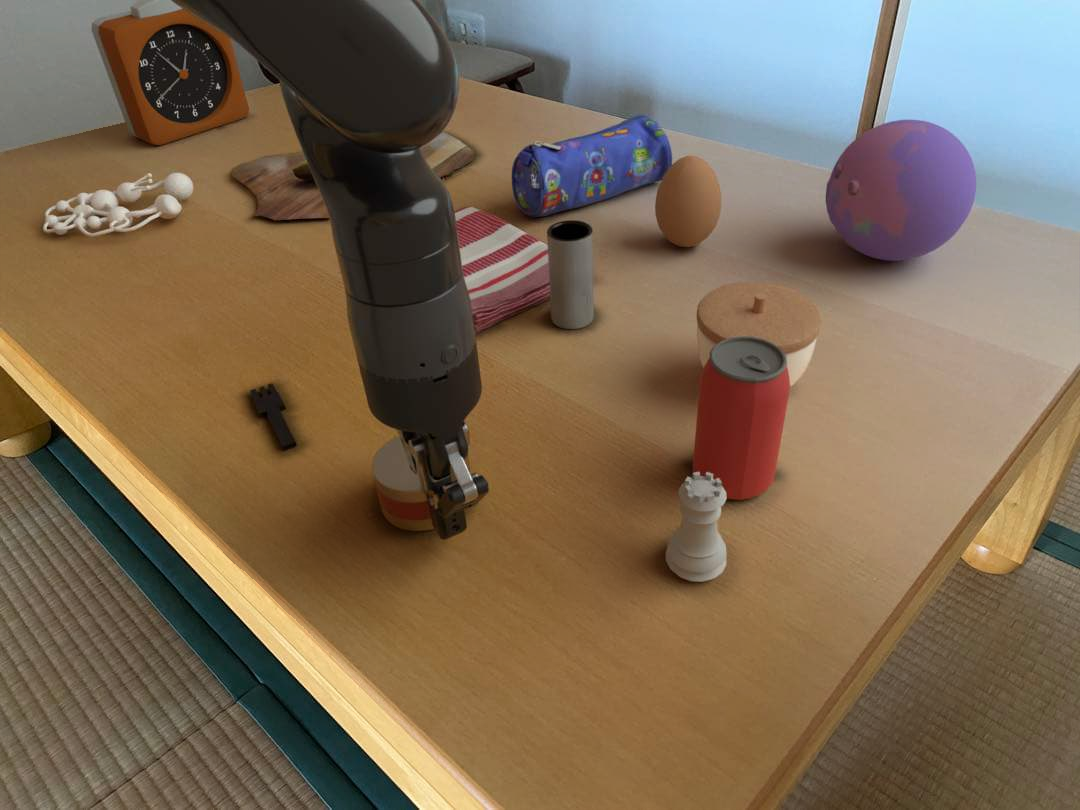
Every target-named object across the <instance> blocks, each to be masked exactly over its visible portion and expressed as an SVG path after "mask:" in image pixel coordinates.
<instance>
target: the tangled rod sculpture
mask: <svg viewBox="0 0 1080 810" xmlns="http://www.w3.org/2000/svg"><path fill="white" fill-rule="evenodd" d="M152 177H153V174H152V173H150V172H148V173H146V174H145V175H144V176H143V177H141V178H138V180H136V181H134V182H127V181H126V182H122V183H121V184H119V185H118V186H117V188H116V190H114V191H110V190H108V189H99V190H96V191H94V192H91V193H87V192H80V193H78V194H77V196H75V197H71V198H70V199H68V200H64V199H61V200H58V201H57V203H56V204H55V205H53V206H50V207H49V208H48V209H46V210H45V212H44V217H45V219H44V224H43V226H42V231H43V232H44V233H47V234H49V233H55V234H56V235H59V236H65V235H66V234H67V233H68V232H69V230H71V229H74V228H75V229H76V230H78V231H80V232H81V233H82V234H83V235H85V236H87V237H91V238H93V237H94V238H95V237H99V236H102V235H106V234H110V233H112V232H119V233H130V232H133V231H136V230H137V229H140V228H142V227H144V226H145V225H146V224H148V223H150V222H151V221H153V220H155V219H157V218H162V219H165V220H171V219H174V218H176V217H177V216H179V215H180V214H181V211H182V209H183V207H182V205H181V203H180V201H185V200H187V199H188V198H190V197H191V196H192V194H193V192H194V183H193V181H192V179H191V177H189V176H188V175H186V174H185V173H183V172H171V173H170V174H168V175H167V176H166V177H165V178H164V179H163V180H160V181H158V182H156V183H154V184H152V183H153V179H152ZM143 184H150V185H144V186H143ZM141 185H142V186H141ZM162 187H163V189H164V192H165V193H166V194H163V193H162V194H159V195H158V196H157V197H156V198H155V200H154V202H153V203H154V204H151V205H149V206H148V207H146V208H144V209H141V210H140V209H139V210H132V211H130V210H129V209H128V208H126V207H124V206H121V205H120V206H119V200H118V197H119V199H120V200H121V201H122V202H125V203H135V202H137V201H138V200H139V199H140V198H141V196H142V194H143V193H147V192H153V191H154V190H157V189H159V188H162ZM75 201H77V203H78V205H76V206H75V207H74V208H73V207H71V205H70V203H72V202H75ZM89 204H90V205H89ZM55 209H56V210H57V211H58V212H59V213H62V214H65V213H66V214H67V213H69V212H70V213H72V214H69V215H68V214H67V215H61V216H57V215H55V214H50V213H51V212H52V211H54V210H55ZM148 215H150V216H148ZM99 216H103V217H101V218H100V217H99ZM143 216H148V217H147V218H145V219H144V220H142V221H141V222H139V223H137V224H136V225H134V226H132V223H133V220H134V219H133V218H136V219H139V218H141V217H143ZM103 223H109V228H106V229H104V230H99V231H97V232H96V231H95V232H90V231H87V228H88V227H89V228H90V229H93V230H97V229H100V228H101V227H102V224H103ZM130 226H131V227H130ZM48 227H49V229H47V228H48Z"/></svg>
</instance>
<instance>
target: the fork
mask: <svg viewBox="0 0 1080 810" xmlns="http://www.w3.org/2000/svg"><path fill="white" fill-rule="evenodd" d="M267 387H268V390H269V392H270V394H269V393H268V391H267V389H266V387H265V385H262V386H259V387H258V389H259V392H260V395H261V397H260V396H259V394H258V392H257V390H256V388H253V389H250V390H249V393H250V394H251V397H252V399H253V403H254V406H255V408H256V410H257V412H258V414H259V417H260V418H265V417H267V418H268V420H269V422H270V424H271V426H272V428H273V430H274V433H275V435H276V437H277V439H278V441H279V443H280V446H281V448H282V450H283V451H287V450H290V449H292V448H296V447H297V446H298V444H297V441H296V439H295V436H294V435H293V433H292V431H291V429H290V427H289V425H288V423H287V421H286V419H285V416H284V415H283V413H282V411H285V410H287V407H286V405H285V402H284V400H283V399H282V396H281V394H280V392H279V391H278V390H277V389H276V387H275V384H274V383H273V382H271V383H268V384H267Z"/></svg>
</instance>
